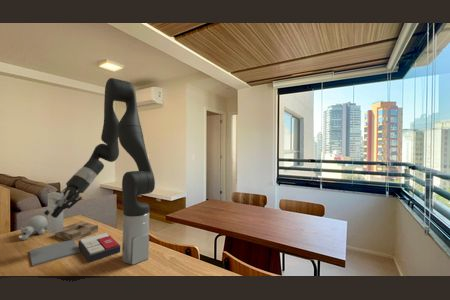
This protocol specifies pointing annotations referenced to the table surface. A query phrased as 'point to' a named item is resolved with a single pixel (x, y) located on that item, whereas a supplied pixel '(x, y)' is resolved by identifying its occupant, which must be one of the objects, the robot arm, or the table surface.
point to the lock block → (77, 231)
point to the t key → (54, 202)
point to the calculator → (98, 247)
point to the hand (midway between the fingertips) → (49, 215)
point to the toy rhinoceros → (34, 227)
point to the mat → (53, 252)
